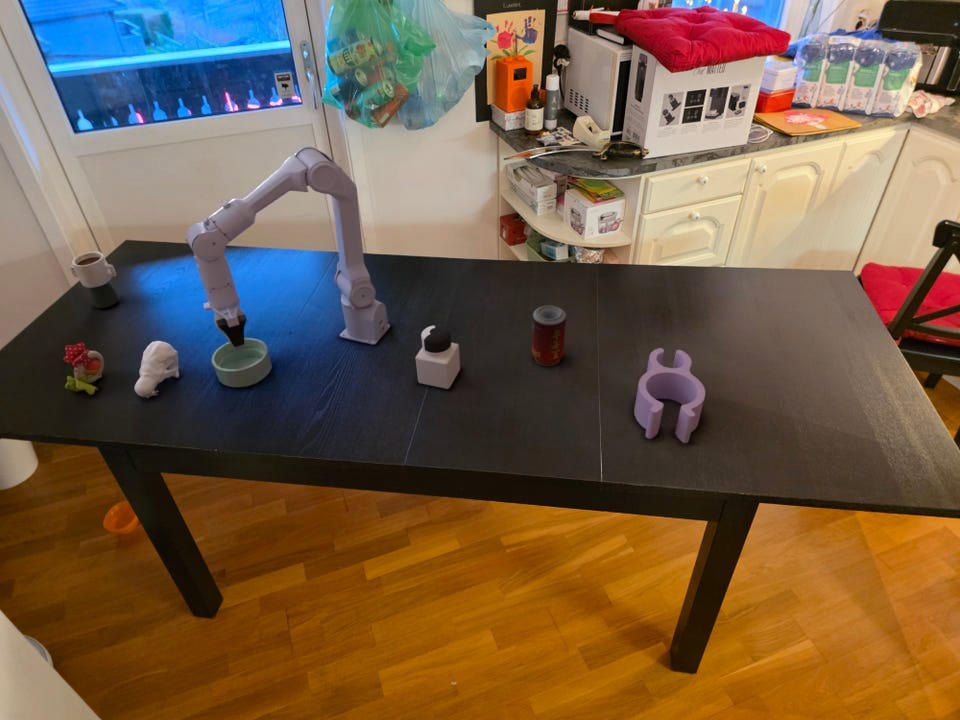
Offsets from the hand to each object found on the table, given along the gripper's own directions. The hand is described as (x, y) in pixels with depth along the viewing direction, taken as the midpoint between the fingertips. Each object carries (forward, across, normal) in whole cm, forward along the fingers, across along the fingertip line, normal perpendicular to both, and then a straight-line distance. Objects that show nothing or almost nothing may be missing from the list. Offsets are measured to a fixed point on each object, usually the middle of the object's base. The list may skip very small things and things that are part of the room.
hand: (235, 336), depth 139 cm
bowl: (+10, 0, 0) cm, 10 cm away
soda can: (+10, +29, +60) cm, 67 cm away
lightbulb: (+4, 0, 0) cm, 4 cm away
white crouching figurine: (+10, -5, -18) cm, 21 cm away
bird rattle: (+10, -13, -30) cm, 34 cm away
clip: (+10, +55, +72) cm, 91 cm away
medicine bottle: (+10, +23, +36) cm, 44 cm away
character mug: (+10, -46, -25) cm, 53 cm away
